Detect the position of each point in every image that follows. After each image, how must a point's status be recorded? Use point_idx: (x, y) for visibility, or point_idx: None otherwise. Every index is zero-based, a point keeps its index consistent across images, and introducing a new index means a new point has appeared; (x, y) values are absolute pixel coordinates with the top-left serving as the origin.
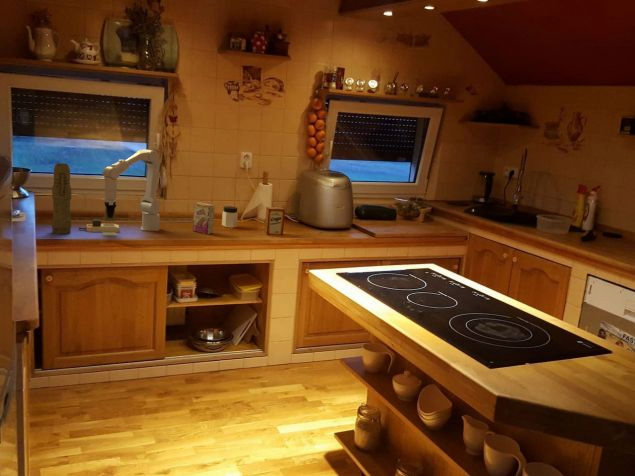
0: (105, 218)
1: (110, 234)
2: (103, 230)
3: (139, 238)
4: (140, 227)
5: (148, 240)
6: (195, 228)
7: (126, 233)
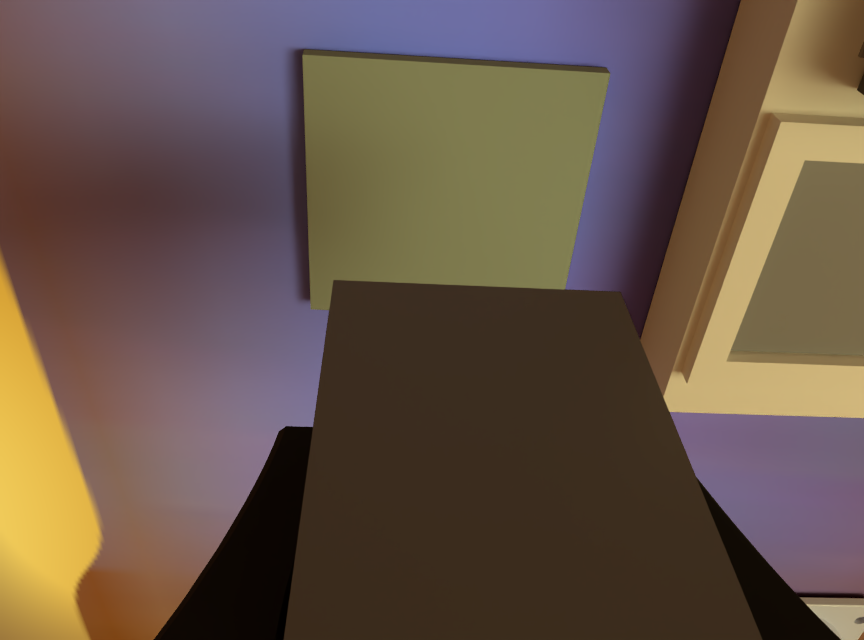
0: (328, 333)
1: (396, 213)
2: (722, 116)
3: (201, 537)
4: (860, 600)
5: (100, 600)
6: None
7: None
